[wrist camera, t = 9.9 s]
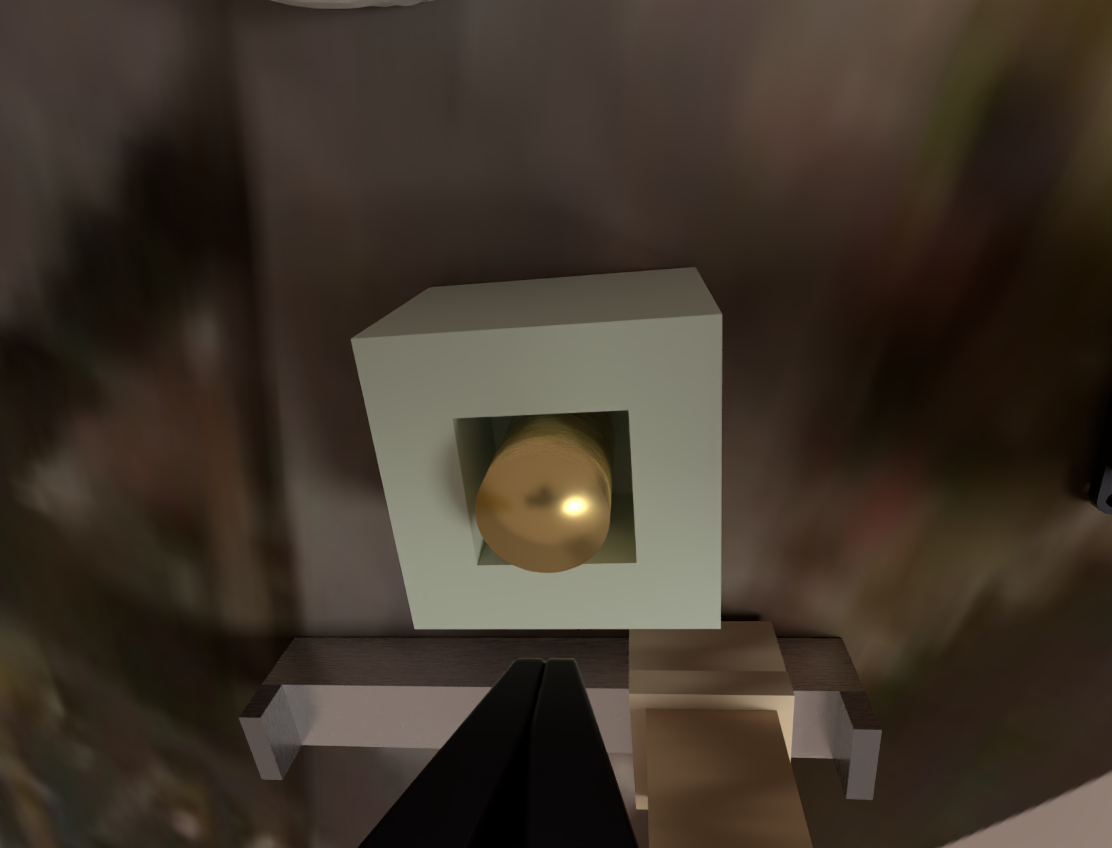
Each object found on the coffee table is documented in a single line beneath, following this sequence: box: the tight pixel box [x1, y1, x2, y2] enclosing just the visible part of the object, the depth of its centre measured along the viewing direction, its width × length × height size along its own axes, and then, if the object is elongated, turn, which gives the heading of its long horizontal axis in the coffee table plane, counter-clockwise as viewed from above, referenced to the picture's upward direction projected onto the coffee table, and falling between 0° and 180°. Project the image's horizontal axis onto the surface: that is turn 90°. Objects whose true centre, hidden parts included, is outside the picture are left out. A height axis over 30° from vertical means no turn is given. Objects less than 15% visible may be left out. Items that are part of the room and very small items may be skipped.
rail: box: [239, 637, 882, 800], centre depth 23 cm, size 21×3×4 cm, turn 95°
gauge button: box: [475, 411, 615, 573], centre depth 16 cm, size 3×3×4 cm
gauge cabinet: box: [351, 267, 722, 629], centre depth 18 cm, size 8×8×6 cm
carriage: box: [629, 621, 813, 848], centre depth 20 cm, size 5×5×8 cm
